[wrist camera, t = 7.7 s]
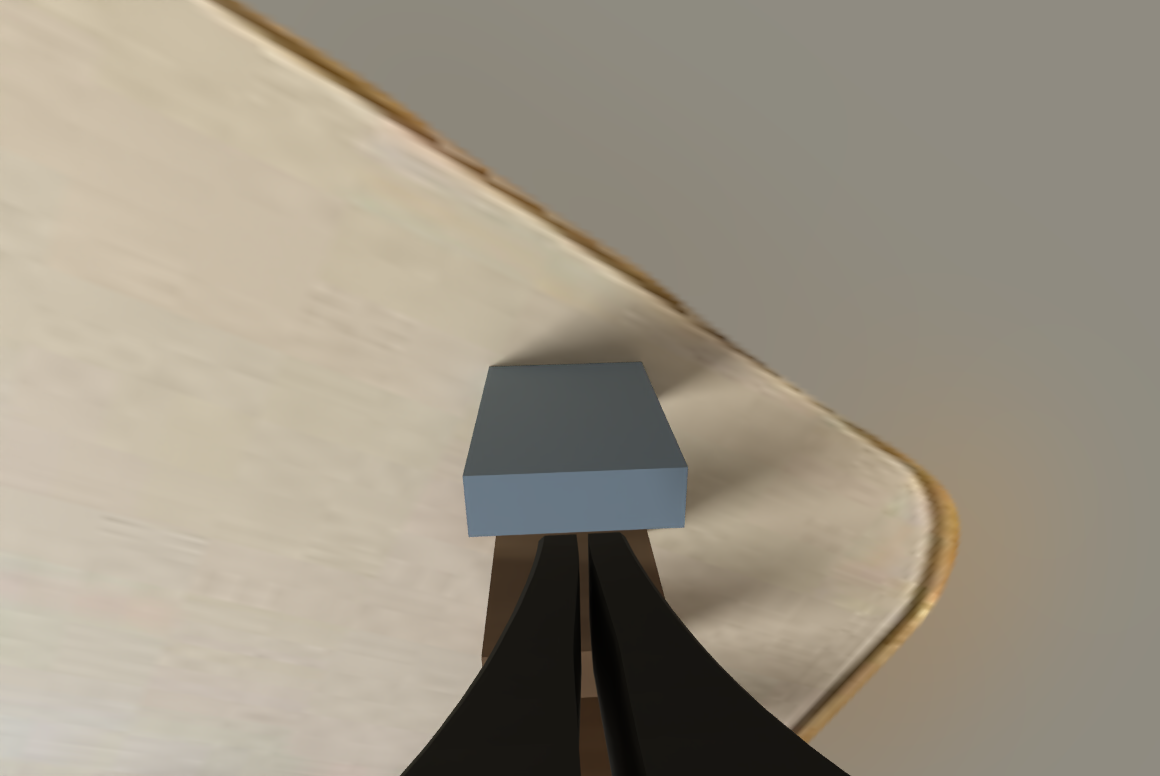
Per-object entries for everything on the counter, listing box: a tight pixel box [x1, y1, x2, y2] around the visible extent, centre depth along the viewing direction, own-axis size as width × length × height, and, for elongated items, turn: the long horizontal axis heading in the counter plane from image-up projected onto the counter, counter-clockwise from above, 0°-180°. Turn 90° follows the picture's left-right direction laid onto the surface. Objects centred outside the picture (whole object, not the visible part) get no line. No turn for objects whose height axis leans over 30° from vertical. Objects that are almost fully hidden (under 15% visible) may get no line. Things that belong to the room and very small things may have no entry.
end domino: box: [463, 362, 688, 537], centre depth 17 cm, size 2×5×7 cm, turn 91°
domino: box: [482, 529, 665, 698], centre depth 19 cm, size 2×5×7 cm, turn 91°
